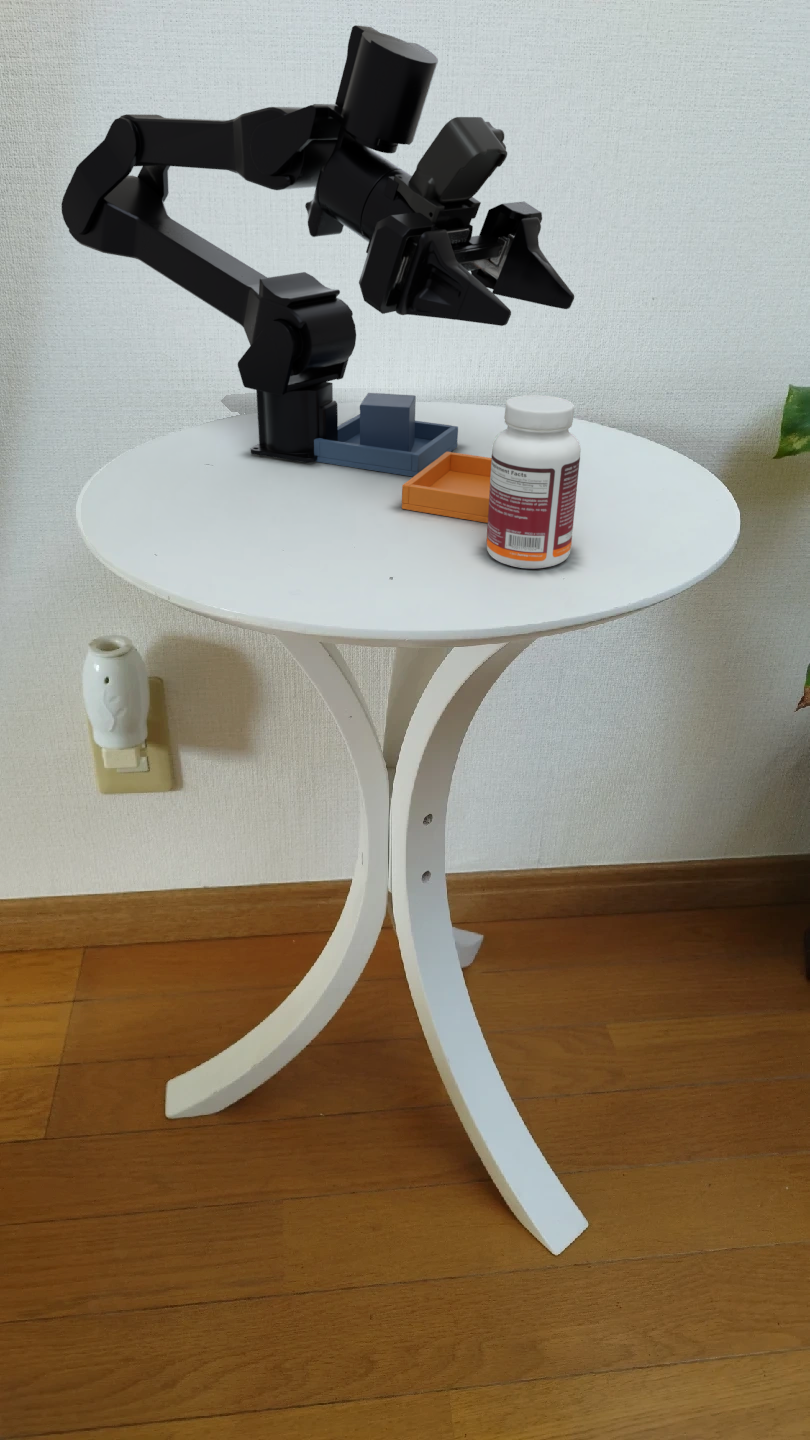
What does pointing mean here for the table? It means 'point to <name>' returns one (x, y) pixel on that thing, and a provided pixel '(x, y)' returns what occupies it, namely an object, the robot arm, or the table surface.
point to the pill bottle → (533, 483)
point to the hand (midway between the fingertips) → (541, 310)
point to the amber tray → (451, 487)
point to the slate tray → (350, 453)
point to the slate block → (388, 421)
